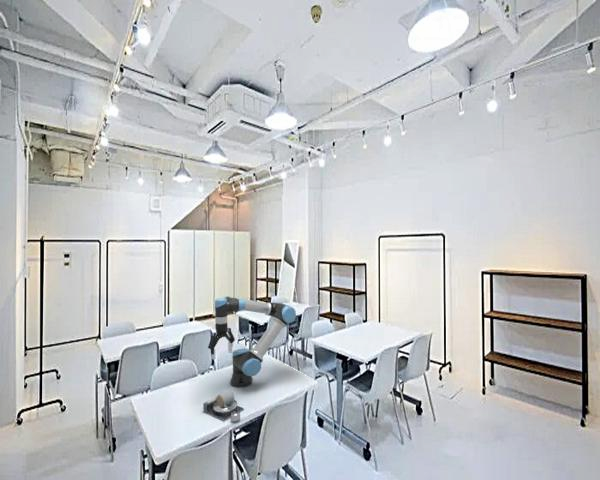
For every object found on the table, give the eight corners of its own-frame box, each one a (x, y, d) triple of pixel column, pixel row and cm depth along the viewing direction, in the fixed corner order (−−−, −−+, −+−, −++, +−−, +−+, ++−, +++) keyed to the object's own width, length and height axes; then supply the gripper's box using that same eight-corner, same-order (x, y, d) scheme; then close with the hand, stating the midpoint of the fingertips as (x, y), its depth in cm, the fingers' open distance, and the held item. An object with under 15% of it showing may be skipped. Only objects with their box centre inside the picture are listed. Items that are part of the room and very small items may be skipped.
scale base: (223, 401, 205) (223, 392, 205) (243, 409, 194) (243, 400, 194) (203, 411, 193) (203, 402, 193) (223, 421, 182) (223, 411, 182)
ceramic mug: (215, 405, 192) (215, 392, 192) (227, 400, 198) (227, 387, 198) (226, 412, 184) (225, 398, 184) (238, 406, 190) (237, 393, 190)
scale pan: (226, 401, 202) (226, 396, 202) (242, 407, 194) (242, 403, 194) (207, 411, 191) (207, 406, 191) (224, 418, 183) (223, 413, 183)
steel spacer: (235, 417, 186) (235, 410, 186) (242, 419, 183) (241, 412, 183) (229, 421, 182) (229, 414, 182) (235, 424, 179) (235, 416, 179)
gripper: (232, 317, 222) (232, 349, 222) (201, 326, 202) (202, 360, 202) (239, 319, 218) (240, 351, 218) (209, 328, 198) (210, 363, 198)
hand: (222, 355), depth 210 cm, fingers open, 13 cm apart
